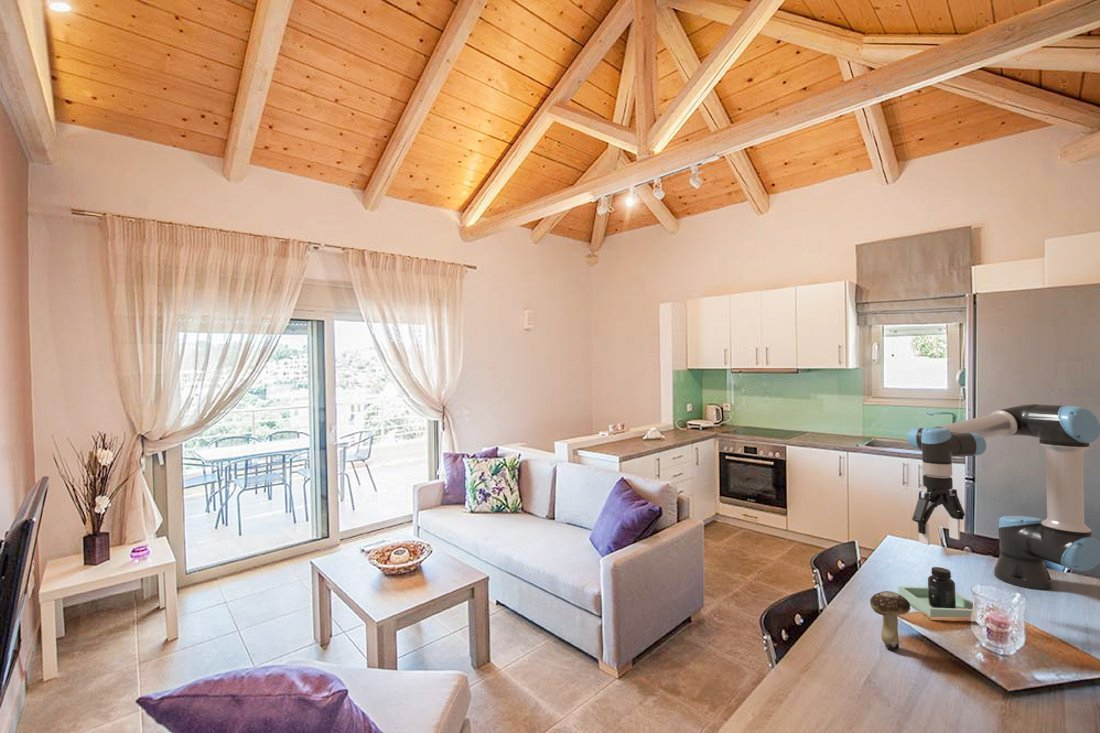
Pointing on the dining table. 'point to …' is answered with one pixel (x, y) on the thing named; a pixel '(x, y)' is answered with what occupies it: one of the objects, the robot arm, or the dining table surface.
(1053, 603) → the dining table surface
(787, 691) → the dining table surface
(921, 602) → the bin
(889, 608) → the mushroom
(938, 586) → the supplement bottle
